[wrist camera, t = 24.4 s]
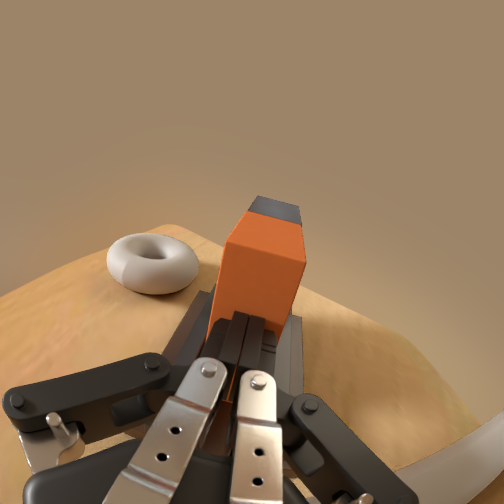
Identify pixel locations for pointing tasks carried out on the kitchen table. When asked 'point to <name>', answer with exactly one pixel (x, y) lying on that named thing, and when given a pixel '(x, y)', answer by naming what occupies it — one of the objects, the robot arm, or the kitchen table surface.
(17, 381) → the kitchen table surface
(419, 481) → the tube
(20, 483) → the kitchen table surface
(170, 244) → the donut
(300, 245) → the orange rectangular block
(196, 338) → the dark brown slotted holder
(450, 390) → the kitchen table surface
